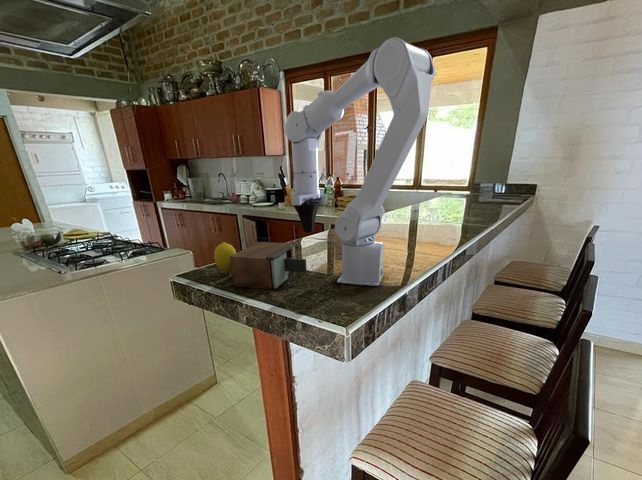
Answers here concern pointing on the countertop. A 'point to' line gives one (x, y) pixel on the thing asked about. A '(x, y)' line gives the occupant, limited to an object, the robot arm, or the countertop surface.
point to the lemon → (224, 256)
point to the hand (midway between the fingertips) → (308, 231)
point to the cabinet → (258, 264)
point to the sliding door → (286, 268)
